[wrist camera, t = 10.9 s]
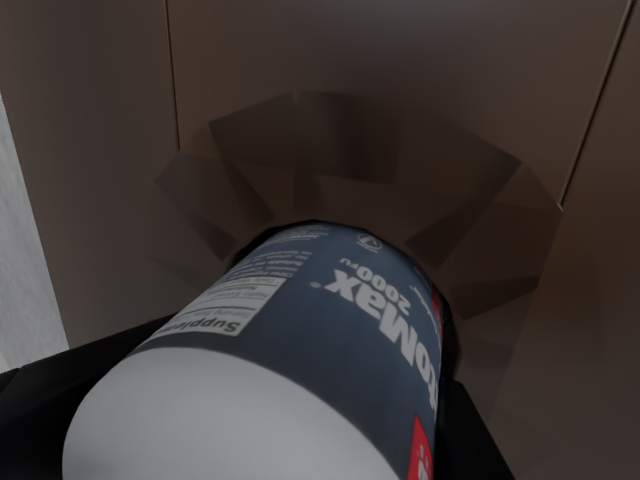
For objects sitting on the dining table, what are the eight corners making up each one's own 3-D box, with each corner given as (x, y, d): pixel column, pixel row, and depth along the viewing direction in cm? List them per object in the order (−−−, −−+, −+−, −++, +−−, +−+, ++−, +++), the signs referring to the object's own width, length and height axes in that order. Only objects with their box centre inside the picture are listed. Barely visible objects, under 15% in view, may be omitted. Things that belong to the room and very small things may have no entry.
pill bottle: (477, 352, 10) (551, 1397, 2) (314, 387, 12) (62, 929, 4) (388, 170, 9) (-158, 912, 1) (229, 247, 11) (-298, 638, 3)
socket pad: (145, 368, 17) (88, 422, 14) (85, 5, 11) (-30, -17, 8) (605, 529, 12) (645, 654, 9) (932, 34, 6) (1276, 2, 4)
